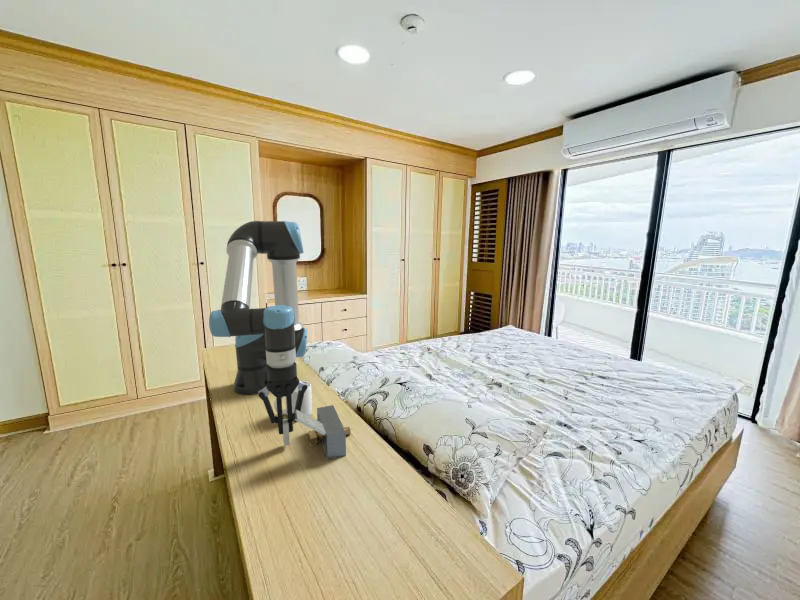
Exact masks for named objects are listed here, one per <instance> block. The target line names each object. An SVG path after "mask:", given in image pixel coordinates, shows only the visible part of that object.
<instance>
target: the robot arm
mask: <svg viewBox="0 0 800 600" xmlns="http://www.w3.org/2000/svg"><path fill="white" fill-rule="evenodd" d="M300 230H301V229H300V226H299V224H298V223H297V222H295V221H287V220H284V221H283V220H282V221H280V220H277V221H276V220H275V221H274V220H272V221H271V220H268V221H267V220H262V221H260V220H252V221H248V222H246V223H244V224H242V225H240V226H239V227H238V228H236V229H235V230H234V231H233V233H232V234H231V235H230V237H229V238H228V241H227V244H226V254H227V255H228V259H227V260H228V261H227V264H226V265H227V266H226V271H225V280H224V284H223V285H224V287H223V291H222V298H221V302H220V303H221V304H220V309H216V310H213V311H211V312H210V314H209V318H208V326H209V327H208V328H209V331H210V333H211V336H213V337H216V338H231V337H235V338H234V339H235V340H234V342H235V344H234V348H235V354H236V366H237V370H236V371H237V372H236V375H235V379H234V382H233V388H234V389H233V390H234V392H235V393H237V394H240V395H255V394H258V397H259V398H260V399H261V400H262V401H263V402H262V403H263V405H264V407H265V411H266V412H267V415H268V418H269V420H270V423H271V424H272V425H274V424H277V425H278V426H277V427H278V429H277V430H278V434H279V435H282V439H283V445H284V447H285V446H290V445H291V442H290V439H291V438H290V433H293V431H294V421H296V420H295V414H294V413H293V414H292V397H291V394H292V393H293V392H294V390H295V389H296V387H297V386H298V390H299V391H298V395H297V400H296V405H295V409H296V410H298V411H301V406H302V401H303V397H304V393H305V391H306V390H307V388H308V387H307V384H306V383H305V382H303V383H302V382H300V381H301V380H300V379H299V377H298V370H297V369H298V368H297V362H296V361H297V359H298V358H303V357H304V356H305V355H306V351H307V344H308V343H307V342H308V339H307V338H308V329H307V328H305V327H304V324H303V323H302V322H301V321H300V315H299V314H300V313H299V311H300V310H299V296H298V295H299V293H298V277H297V275H298V273H297V262H298V261H299V260H300V259H301V256H300V255H302V254H304V247H303V240H302V236H301V231H300ZM258 254H259V255H260V254H264V255H265V254H266V257H267V260H268V261H269V262H270V263H271V268H272V269H271V270H272V281H273V295H274V305H271V306H268V307H261V308H251V307H250V306H251V295H252V284H253V283H252V282H253V273H254V272H253V271H254V270H253V269H254V260H255V259H256V257H257V256H258ZM269 392H270V393H271V395H273V397H275V399H276V400H277V412H276V413H277V416H276V415H275V413H274V409H273V407H272V404H271V401H270V398H269ZM283 396H286V397H285V403H286V402H287V414H286V416H287V418H284V419H283V416H284V415H283V414H282V410H283V403H282V402H283V400H282V399H283V398H284V397H283ZM282 397H283V398H282Z"/></svg>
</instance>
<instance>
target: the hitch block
mask: <svg viewBox="0 0 800 600" xmlns="http://www.w3.org/2000/svg"><path fill="white" fill-rule="evenodd" d="M316 416H317V417H316V419H317V421H319V422H320V423H322V424H323V427H324V429H325V432H326V433H325V435H323V434H322V446H323V450H324V452H325V455H326V459H327V461H328V460H329V461H330V460H333V459H337V458H340V457H341V458H342V457H344V456H347V444H346V443H347V441H346V440H347V439H346V436H347V435H346V432H345V430H344V428H345V427H344V425H343V424H342V421H341V419H340V417H339V415H338V413H337V410H336V408H335V406H334V404H332V405H327V406H320V407H317V408H316Z"/></svg>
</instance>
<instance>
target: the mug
mask: <svg viewBox="0 0 800 600" xmlns="http://www.w3.org/2000/svg"><path fill="white" fill-rule="evenodd" d="M299 381H300V382H302V383H303V382H305V383H306V384H307V387H308V388H307V390H306V391H305V393H304V397H303V401H302V406H301V411H300V412H302V413H304V414H306V415H307V416H309V417H311V415H312V413H313V398H312V397H313V396H312V395H313V394H312V393H313V392H312V384H311V382H309V381H307V380H299ZM298 391H299V390H298V386H297V387H296V389H295V390H294V392H293V393H292V394H291V397H292V414H293V413H294V410H295V405H296V400H297V395H298ZM283 398H286V396H283V397H282V399H283ZM273 405H274V407H273V408H274V409H275V412H276V413H277V400H276V398H275V400H274V402H273ZM285 408H286V409H282V415H287V402H286V401H285ZM294 421H296V419H295V420H294Z"/></svg>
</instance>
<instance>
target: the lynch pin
mask: <svg viewBox="0 0 800 600" xmlns="http://www.w3.org/2000/svg"><path fill="white" fill-rule="evenodd" d="M344 430H345V432H346V436H349V435H351V427H350V426H345V427H344ZM316 432H317V431H315V430H313V429H311V430H309V431H308V442H309V445H310V447H313V446H317V445H318V442H321V441H322V434H321V433H319V432H317V433H316Z"/></svg>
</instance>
